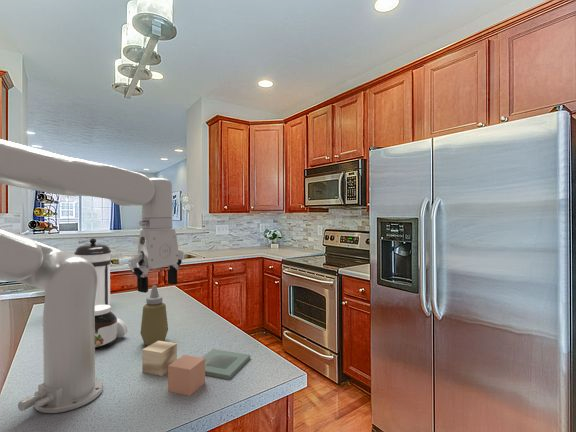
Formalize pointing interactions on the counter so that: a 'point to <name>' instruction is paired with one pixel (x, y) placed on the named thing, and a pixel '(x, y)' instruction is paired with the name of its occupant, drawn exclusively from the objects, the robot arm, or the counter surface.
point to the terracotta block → (186, 374)
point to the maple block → (158, 357)
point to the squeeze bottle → (154, 319)
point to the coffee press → (99, 268)
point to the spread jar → (107, 327)
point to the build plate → (224, 363)
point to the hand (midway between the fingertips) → (158, 287)
